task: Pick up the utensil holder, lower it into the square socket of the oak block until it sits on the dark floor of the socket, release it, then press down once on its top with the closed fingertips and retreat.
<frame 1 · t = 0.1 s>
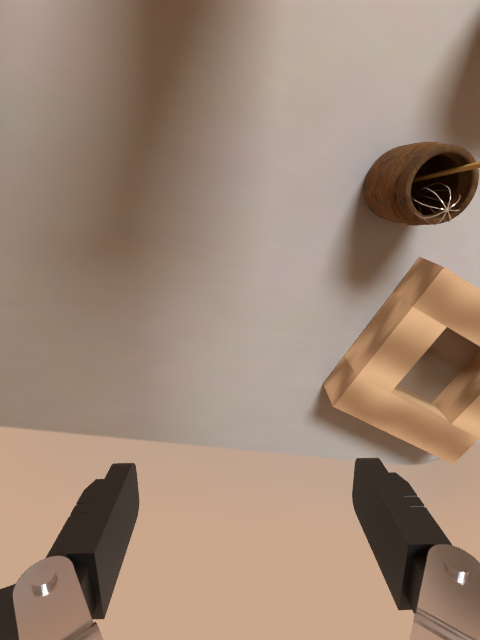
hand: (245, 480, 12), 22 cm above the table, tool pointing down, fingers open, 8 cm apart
oak socket block: (427, 358, 36), on the table
utensil holder: (396, 183, 30), on the table
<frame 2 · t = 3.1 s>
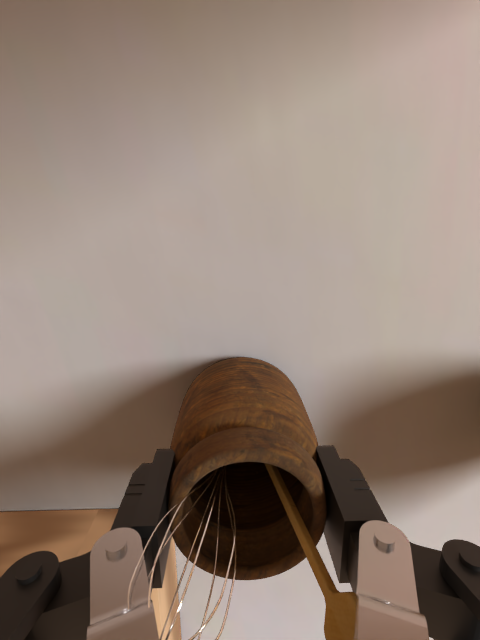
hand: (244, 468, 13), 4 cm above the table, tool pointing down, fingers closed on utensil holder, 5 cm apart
oak socket block: (47, 619, 21), on the table
utensil holder: (243, 406, 18), on the table, touching gripper
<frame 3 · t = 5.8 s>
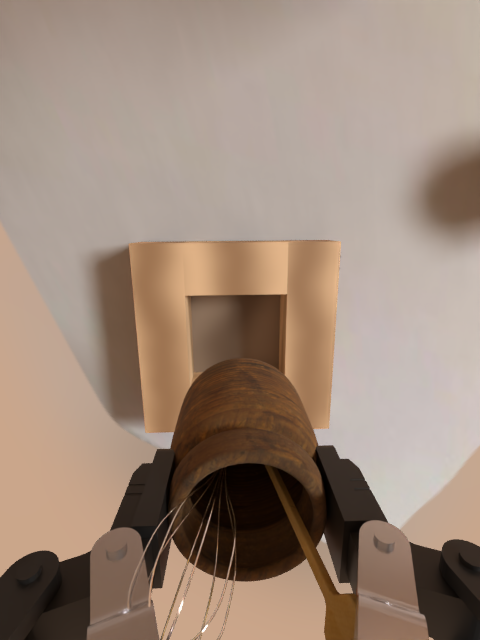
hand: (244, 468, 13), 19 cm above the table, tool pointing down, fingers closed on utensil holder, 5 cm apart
oak socket block: (235, 329, 32), on the table
utensil holder: (243, 406, 18), point 14 cm above the table, touching gripper
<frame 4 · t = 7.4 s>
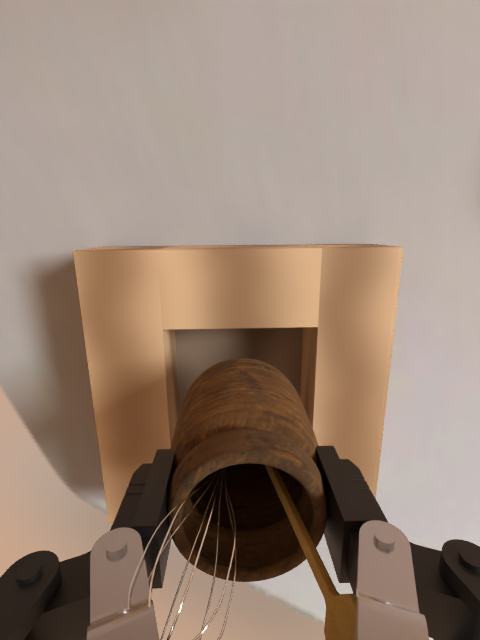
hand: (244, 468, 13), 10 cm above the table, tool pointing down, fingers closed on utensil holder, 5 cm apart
oak socket block: (239, 369, 22), on the table
utensil holder: (243, 407, 18), point 5 cm above the table, touching gripper
when the fingers open (6 cm above the table, at t = 8.6 s): utensil holder drops 1 cm, resting on oak socket block.
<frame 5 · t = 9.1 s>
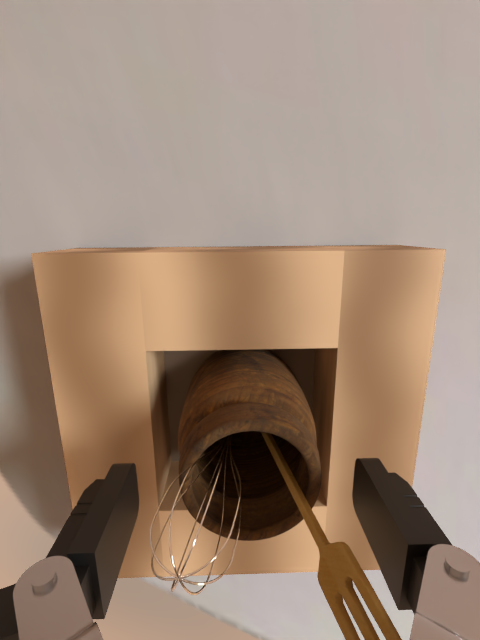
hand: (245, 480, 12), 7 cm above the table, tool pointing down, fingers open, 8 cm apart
oak socket block: (240, 392, 19), on the table
utensil holder: (245, 391, 19), resting on oak socket block
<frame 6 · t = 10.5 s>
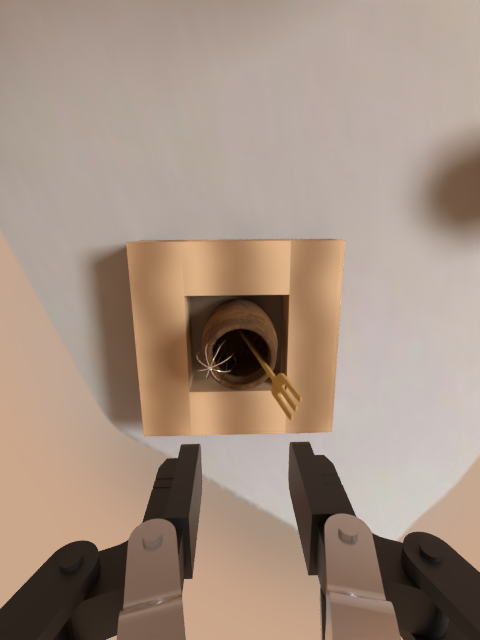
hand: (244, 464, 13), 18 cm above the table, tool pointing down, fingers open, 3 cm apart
oak socket block: (236, 330, 31), on the table
utensil holder: (239, 329, 31), resting on oak socket block
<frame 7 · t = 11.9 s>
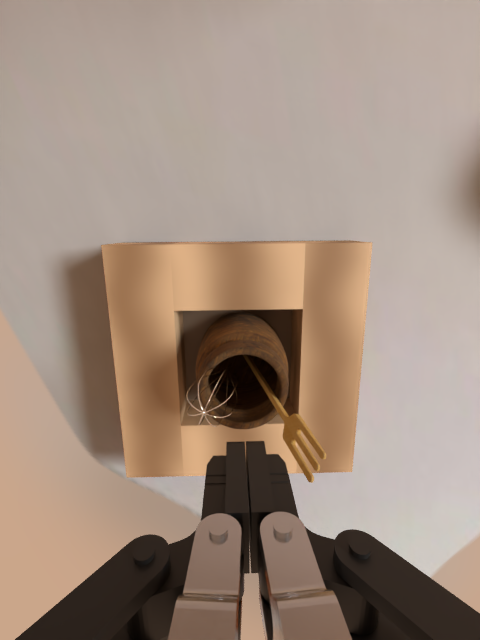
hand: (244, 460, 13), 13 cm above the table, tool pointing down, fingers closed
oak socket block: (237, 349, 26), on the table
utensil holder: (241, 347, 26), resting on oak socket block
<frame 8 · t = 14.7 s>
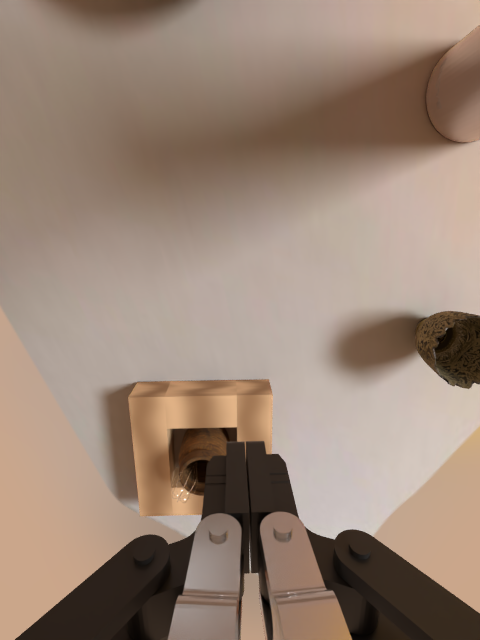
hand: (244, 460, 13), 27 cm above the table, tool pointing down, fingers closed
oak socket block: (205, 438, 44), on the table
utensil holder: (207, 437, 44), resting on oak socket block
cup: (426, 329, 41), on the table
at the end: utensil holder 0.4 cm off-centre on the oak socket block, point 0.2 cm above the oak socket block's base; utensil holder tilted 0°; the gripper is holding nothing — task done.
